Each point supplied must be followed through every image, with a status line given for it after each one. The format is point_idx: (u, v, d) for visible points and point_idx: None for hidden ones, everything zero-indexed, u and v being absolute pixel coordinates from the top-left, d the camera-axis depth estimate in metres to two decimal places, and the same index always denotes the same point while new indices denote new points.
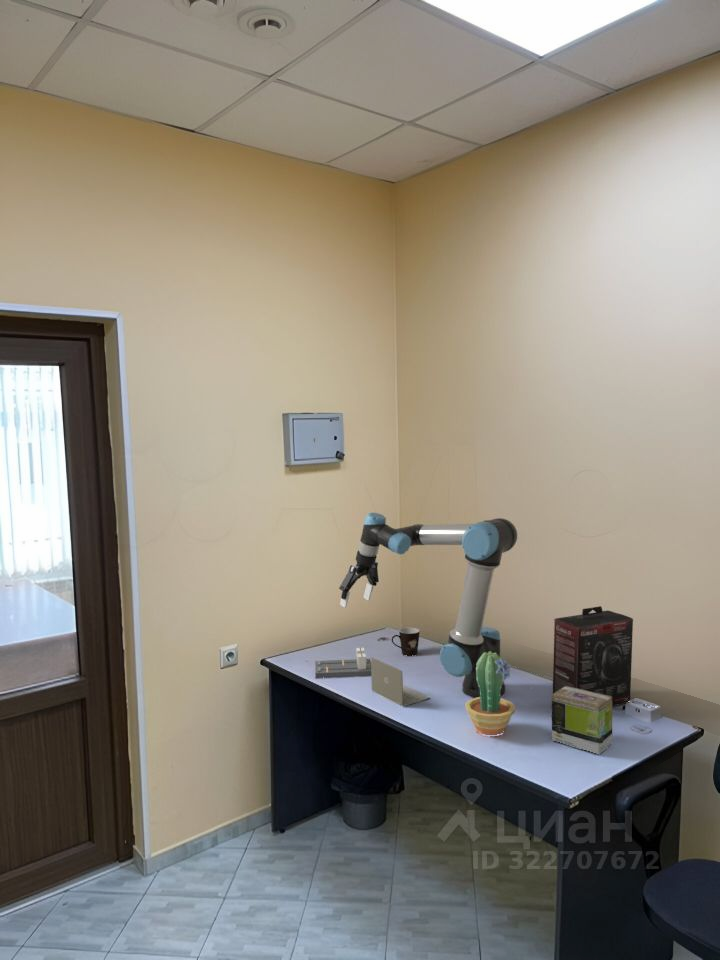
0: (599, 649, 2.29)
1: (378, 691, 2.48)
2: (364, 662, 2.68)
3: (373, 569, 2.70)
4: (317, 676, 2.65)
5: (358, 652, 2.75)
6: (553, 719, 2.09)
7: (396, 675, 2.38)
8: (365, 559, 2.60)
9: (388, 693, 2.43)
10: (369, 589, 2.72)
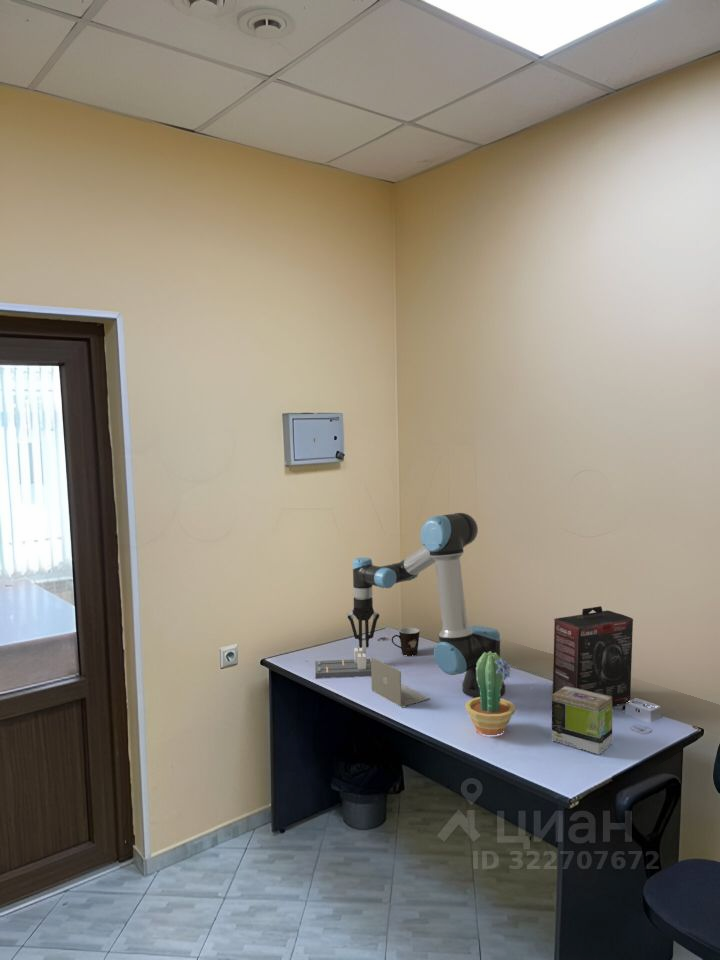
0: (599, 649, 2.29)
1: (378, 691, 2.48)
2: (364, 662, 2.68)
3: (373, 620, 2.76)
4: (317, 676, 2.65)
5: (356, 652, 2.75)
6: (553, 719, 2.09)
7: (395, 675, 2.38)
8: (355, 602, 2.73)
9: (387, 693, 2.43)
10: None
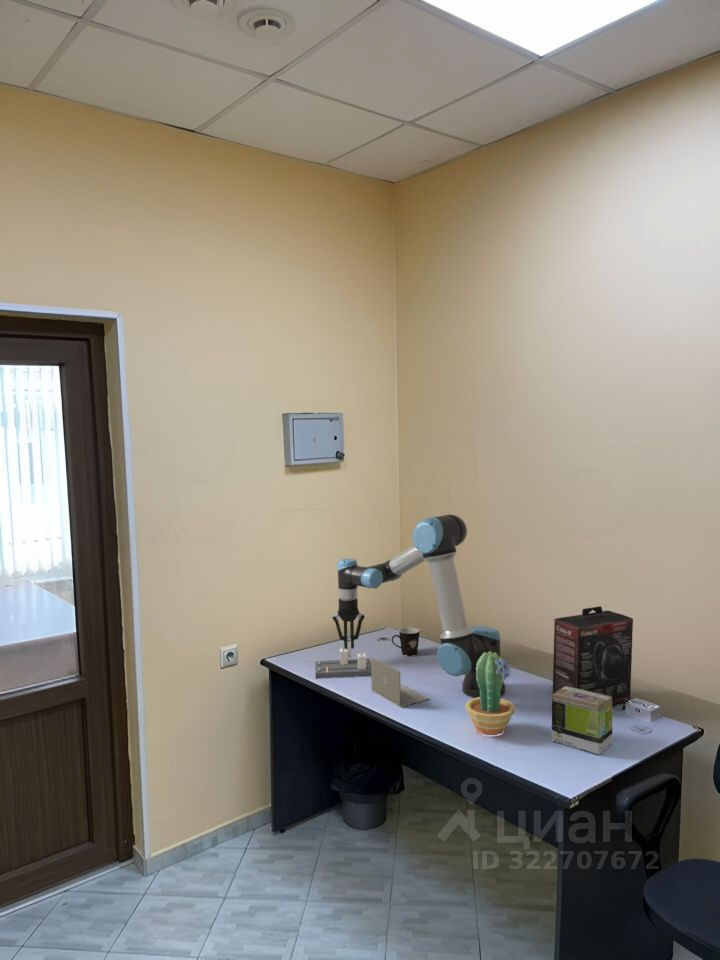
0: (599, 649, 2.29)
1: (377, 691, 2.48)
2: (364, 662, 2.68)
3: (358, 621, 2.76)
4: (317, 676, 2.65)
5: (341, 653, 2.74)
6: (553, 719, 2.09)
7: (394, 676, 2.38)
8: (340, 603, 2.73)
9: (387, 693, 2.43)
10: None
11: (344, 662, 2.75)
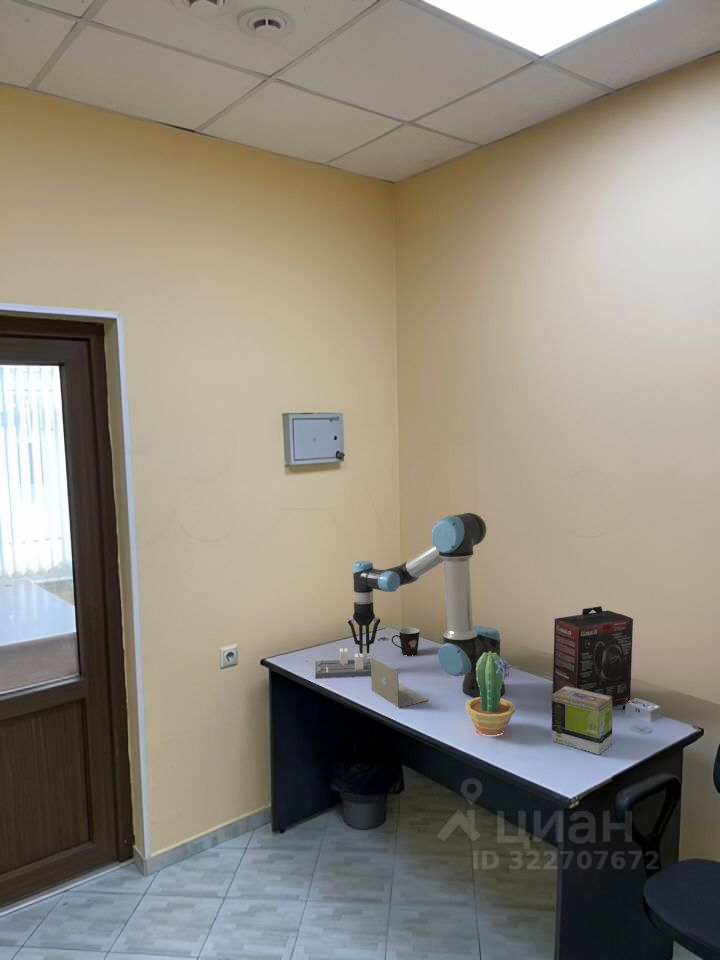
0: (599, 649, 2.29)
1: (377, 691, 2.48)
2: (361, 662, 2.68)
3: (374, 625, 2.69)
4: (317, 676, 2.65)
5: (341, 653, 2.74)
6: (553, 719, 2.09)
7: (392, 676, 2.38)
8: (355, 606, 2.66)
9: (386, 694, 2.42)
10: None
11: (344, 662, 2.75)
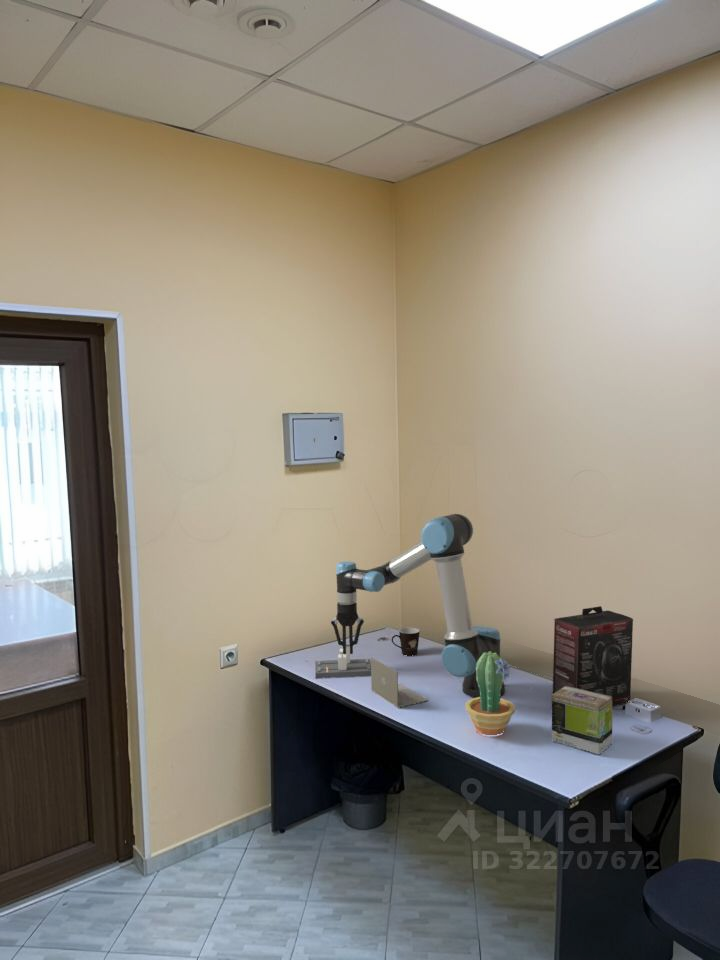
0: (599, 649, 2.29)
1: (377, 691, 2.48)
2: (344, 663, 2.67)
3: (357, 626, 2.69)
4: (317, 676, 2.65)
5: (341, 653, 2.74)
6: (553, 719, 2.09)
7: (392, 676, 2.38)
8: (339, 607, 2.66)
9: (385, 694, 2.42)
10: None
11: None
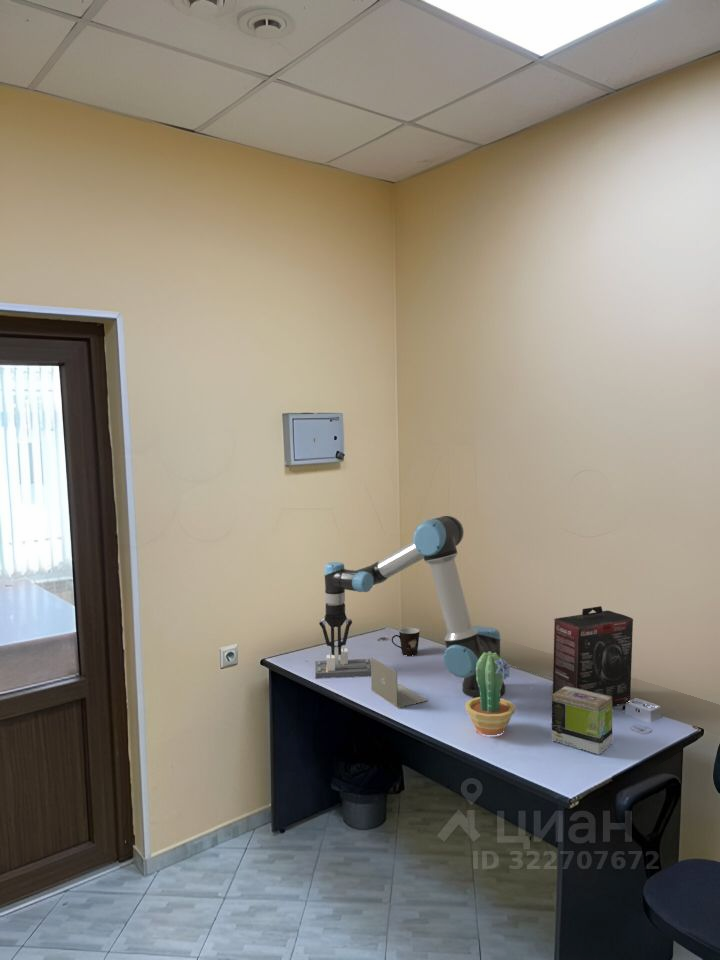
0: (599, 649, 2.29)
1: (377, 691, 2.48)
2: (333, 663, 2.67)
3: (346, 627, 2.68)
4: (317, 676, 2.65)
5: (341, 653, 2.74)
6: (553, 719, 2.09)
7: (392, 676, 2.38)
8: (327, 608, 2.65)
9: (385, 694, 2.42)
10: None
11: (344, 662, 2.75)
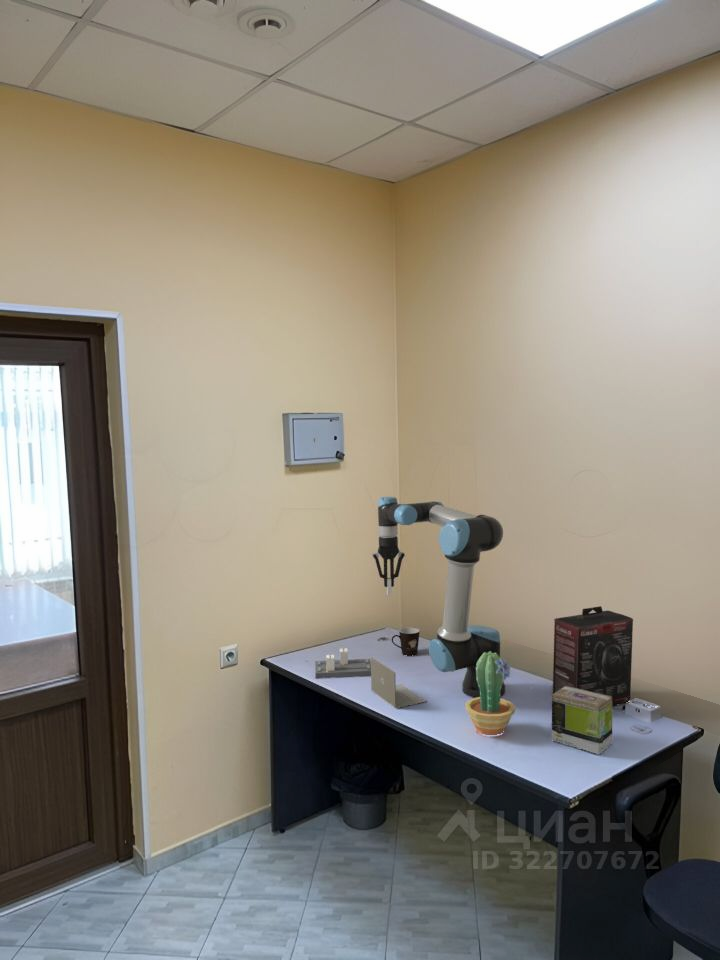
0: (599, 649, 2.29)
1: (376, 691, 2.48)
2: (332, 663, 2.67)
3: (398, 559, 2.76)
4: (317, 676, 2.65)
5: (341, 653, 2.74)
6: (553, 719, 2.09)
7: (390, 676, 2.37)
8: (381, 540, 2.73)
9: (384, 694, 2.42)
10: None
11: (344, 662, 2.75)
